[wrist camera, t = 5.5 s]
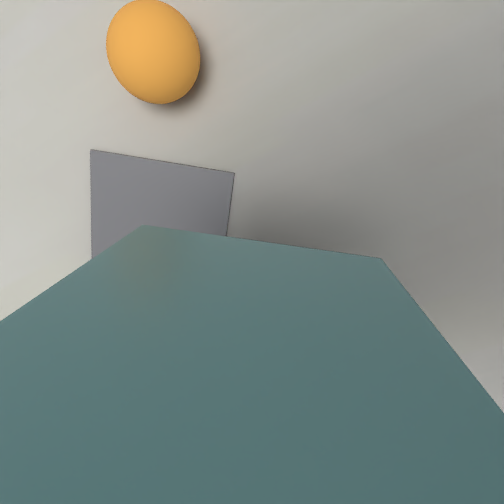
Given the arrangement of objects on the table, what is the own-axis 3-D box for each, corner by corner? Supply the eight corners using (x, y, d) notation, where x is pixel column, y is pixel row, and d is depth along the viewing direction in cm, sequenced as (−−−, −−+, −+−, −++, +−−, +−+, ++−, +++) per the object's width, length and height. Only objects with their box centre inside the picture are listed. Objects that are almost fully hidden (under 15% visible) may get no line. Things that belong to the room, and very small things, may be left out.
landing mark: (234, 172, 23) (234, 173, 23) (217, 301, 26) (217, 302, 26) (91, 149, 23) (90, 149, 23) (93, 279, 27) (91, 280, 26)
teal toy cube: (380, 258, 11) (731, 700, 2) (331, 438, 13) (415, 941, 5) (142, 224, 11) (-292, 519, 3) (140, 407, 14) (-78, 841, 5)
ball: (212, 23, 20) (192, -10, 15) (203, 112, 22) (183, 107, 17) (130, 10, 20) (86, -26, 16) (128, 100, 22) (88, 91, 17)
